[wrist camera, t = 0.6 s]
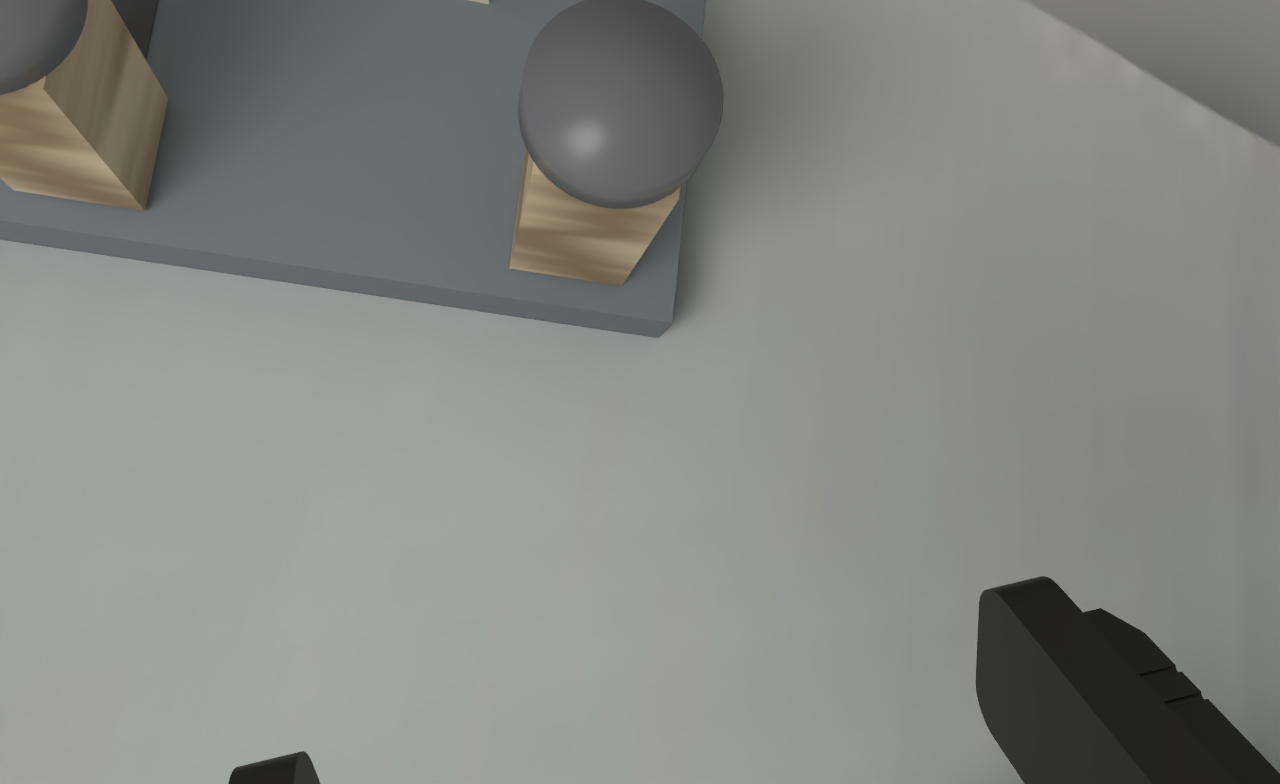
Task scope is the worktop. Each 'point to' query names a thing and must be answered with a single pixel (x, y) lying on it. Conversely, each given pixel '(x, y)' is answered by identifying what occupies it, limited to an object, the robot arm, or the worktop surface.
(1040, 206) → the worktop surface
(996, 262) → the worktop surface
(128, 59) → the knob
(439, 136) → the slider board
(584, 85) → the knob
